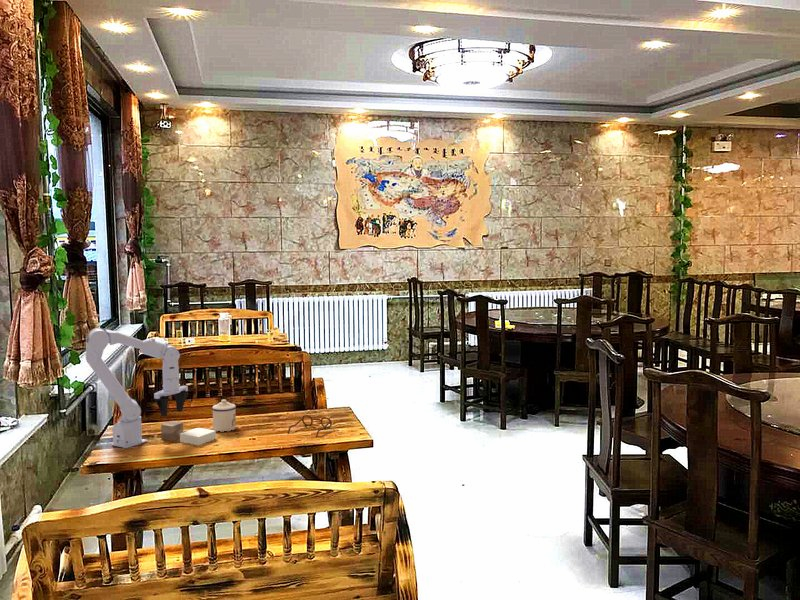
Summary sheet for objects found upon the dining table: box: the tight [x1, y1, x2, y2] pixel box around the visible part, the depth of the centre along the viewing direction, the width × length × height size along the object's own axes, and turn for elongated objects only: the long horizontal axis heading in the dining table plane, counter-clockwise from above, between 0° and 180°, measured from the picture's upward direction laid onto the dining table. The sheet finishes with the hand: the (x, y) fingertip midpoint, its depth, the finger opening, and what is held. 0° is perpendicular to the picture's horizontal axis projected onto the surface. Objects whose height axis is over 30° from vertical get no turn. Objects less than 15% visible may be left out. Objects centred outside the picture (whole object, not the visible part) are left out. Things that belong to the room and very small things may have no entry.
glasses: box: [286, 414, 333, 438], centre depth 257 cm, size 13×13×5 cm
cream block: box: [179, 427, 217, 446], centre depth 244 cm, size 9×9×4 cm
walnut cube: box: [160, 420, 184, 441], centre depth 248 cm, size 6×6×6 cm
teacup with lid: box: [211, 399, 237, 433], centre depth 260 cm, size 12×9×12 cm
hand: (171, 413), depth 247 cm, fingers open, 7 cm apart
